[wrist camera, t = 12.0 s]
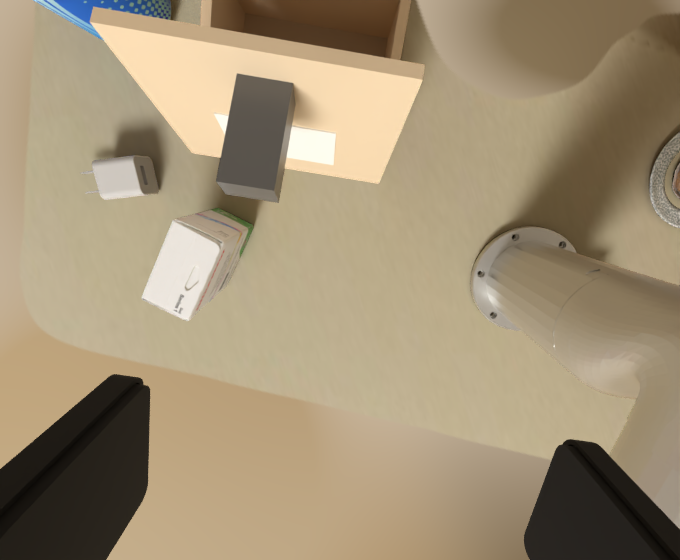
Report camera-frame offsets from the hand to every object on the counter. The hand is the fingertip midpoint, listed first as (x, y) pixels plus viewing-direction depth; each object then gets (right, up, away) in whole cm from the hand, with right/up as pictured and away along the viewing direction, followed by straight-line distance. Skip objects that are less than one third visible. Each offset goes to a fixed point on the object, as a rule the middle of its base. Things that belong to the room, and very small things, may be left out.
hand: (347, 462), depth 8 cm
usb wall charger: (-24, +16, +34) cm, 45 cm away
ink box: (-14, +8, +36) cm, 39 cm away
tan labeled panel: (-4, +15, +16) cm, 23 cm away
